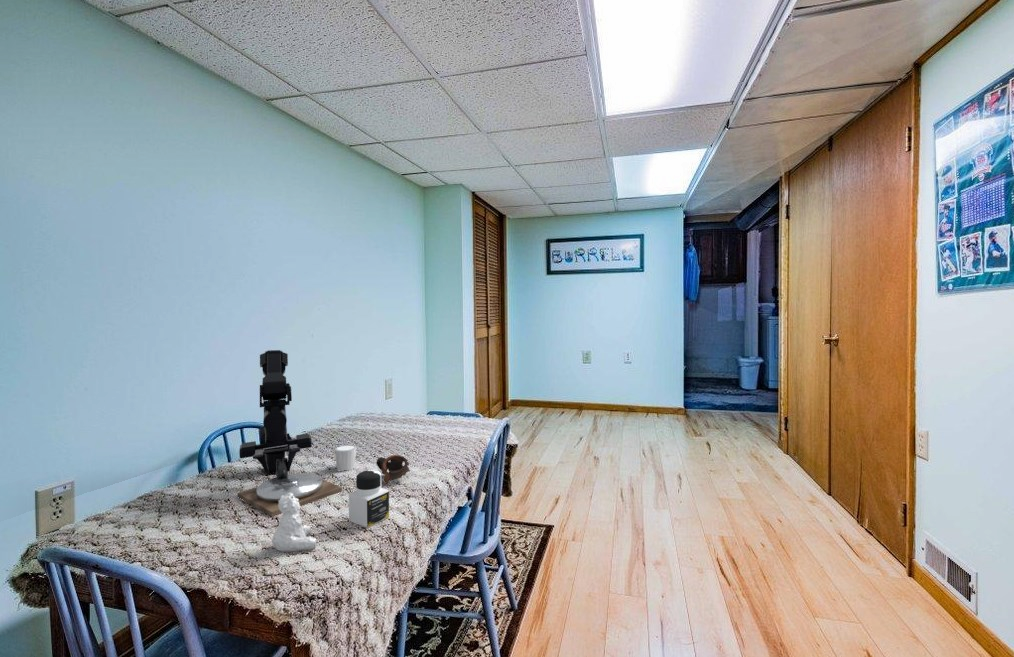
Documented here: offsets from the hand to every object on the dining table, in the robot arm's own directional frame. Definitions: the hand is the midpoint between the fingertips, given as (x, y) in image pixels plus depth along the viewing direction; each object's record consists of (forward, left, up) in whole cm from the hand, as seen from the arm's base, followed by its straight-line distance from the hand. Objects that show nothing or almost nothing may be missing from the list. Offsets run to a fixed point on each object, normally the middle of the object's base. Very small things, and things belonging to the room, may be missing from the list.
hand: (278, 473), depth 131 cm
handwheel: (+8, 0, -3) cm, 8 cm away
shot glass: (+2, +22, -5) cm, 22 cm away
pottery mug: (+21, +26, -5) cm, 33 cm away
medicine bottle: (+39, +4, -5) cm, 39 cm away
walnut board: (+8, 0, -4) cm, 9 cm away
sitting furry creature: (+36, -14, -5) cm, 39 cm away
